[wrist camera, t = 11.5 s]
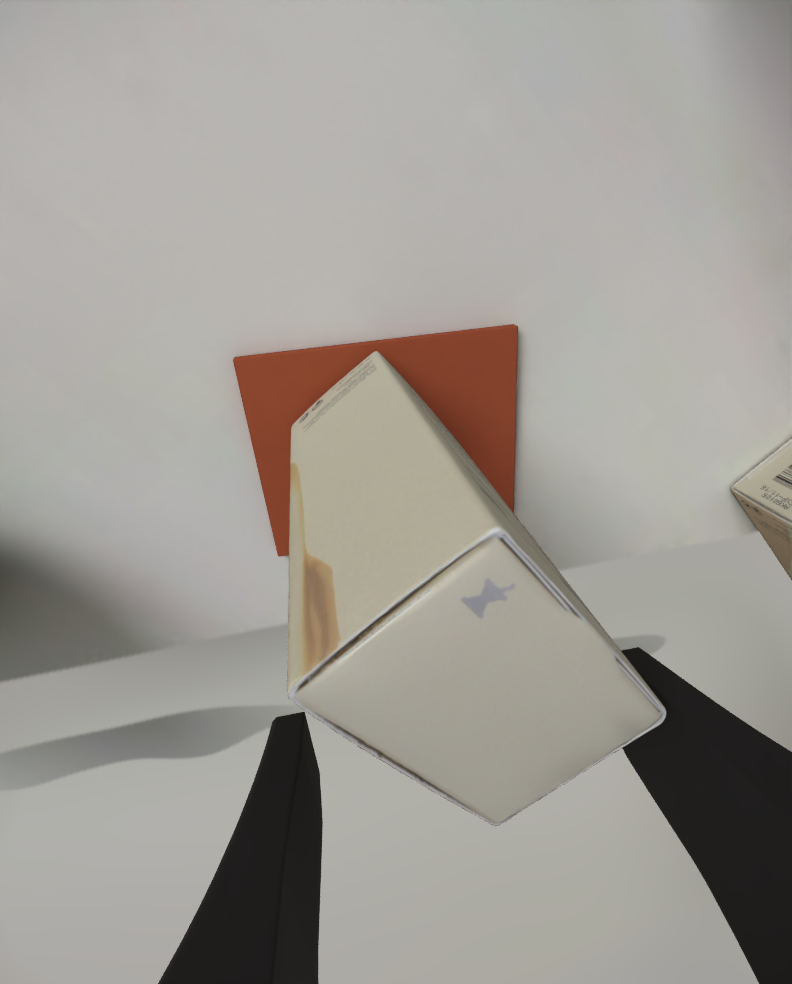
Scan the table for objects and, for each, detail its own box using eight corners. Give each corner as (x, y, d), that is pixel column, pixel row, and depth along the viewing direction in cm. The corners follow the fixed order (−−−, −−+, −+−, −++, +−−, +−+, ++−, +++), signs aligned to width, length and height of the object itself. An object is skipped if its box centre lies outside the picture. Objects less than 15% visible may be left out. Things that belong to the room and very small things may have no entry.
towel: (278, 551, 21) (277, 557, 21) (234, 356, 17) (232, 359, 17) (510, 515, 22) (513, 519, 22) (514, 323, 18) (518, 325, 18)
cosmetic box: (286, 425, 18) (256, 692, 7) (377, 344, 18) (490, 507, 7) (398, 534, 21) (496, 844, 10) (481, 468, 20) (681, 726, 9)
